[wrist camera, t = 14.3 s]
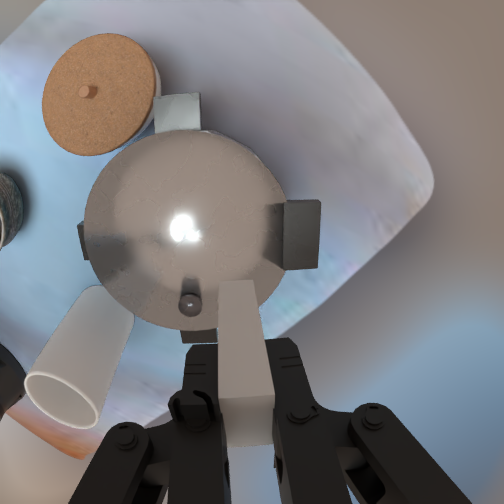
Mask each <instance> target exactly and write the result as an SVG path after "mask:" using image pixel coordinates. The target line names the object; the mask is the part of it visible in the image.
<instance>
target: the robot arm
mask: <svg viewBox="0 0 504 504" xmlns="http://www.w3.org/2000/svg"><path fill="white" fill-rule="evenodd" d="M25 378H26V374H25V372H24V371H23V369H22V367H21V366H20V364H19V363H18V362H17V361H16V359H15V358H14V357H13V356H12V355H11V354H10V353H9V352H8V351H7V350H6V349H5V348H4V347H3V346H2V345H1V344H0V421H1V419H2V417H3V415H4V413H5V412H6V411H7V410H8V409H9V408H10V407H12V406H13V405H14V404H15V403H17V402H18V401H19V400H20V399H22V398H23V397H24V395H25V393H26V390H25V386H24V381H25ZM168 407H169V410H170V413H171V416H172V418H173V419H172V420H171V421H169V422H167V423H166V424H163V425H160V426H156V427H151V428H147V429H144V428H143V427H142V426H141V425H139V424H137V423H134V422H123V423H118V424H117V425H115V426H113V427H111V429H110V430H109V431H108V432H107V433H106V435H105V437H104V439H103V441H102V442H101V444H100V446H99V448H98V449H97V451H96V453H95V455H94V457H93V459H92V460H91V462H90V464H89V466H88V468H87V470H86V471H85V473H84V475H83V477H82V479H81V480H80V482H79V484H78V486H77V488H76V490H75V492H74V494H73V495H72V498H71V499H70V501H69V503H68V504H162V502H163V499H164V497H165V494H166V491H167V489H168V502H167V504H231V490H230V477H229V476H230V474H229V461H228V456H227V447H243V446H244V447H245V446H257V445H268V444H273V443H274V450H275V455H274V456H275V457H274V468H276V472H277V478H278V484H279V490H280V497H281V502H282V504H352V501H351V498H350V495H349V491H348V488H347V485H348V487H349V488H350V490H351V491H352V493H353V494H354V496H355V497H356V499H357V500H358V502H359V503H360V504H472V503H471V502H470V500H469V499H468V498H467V497H466V496H465V495H464V494H463V493H462V491H461V490H460V489H459V488H458V487H457V486H456V484H455V483H454V482H453V481H452V480H451V479H450V478H449V477H448V476H447V474H446V473H445V472H444V471H443V470H442V468H441V467H440V466H439V465H438V464H437V463H436V461H435V460H434V459H433V458H432V457H431V456H430V455H429V454H428V452H427V451H426V450H425V449H424V448H423V447H422V446H421V444H420V443H419V442H418V441H417V440H416V439H415V437H414V436H413V435H412V434H411V433H410V432H409V431H408V429H407V428H406V427H405V426H404V425H403V424H402V423H401V421H400V420H399V419H398V418H397V417H396V416H395V415H394V413H393V412H392V411H391V410H390V409H388V408H387V407H386V406H384V405H381V404H378V403H367V404H363V405H361V406H359V407H358V408H356V409H355V411H354V412H353V413H351V412H350V413H349V412H337V411H331V410H328V409H326V408H324V407H322V406H321V405H319V404H318V403H317V402H316V401H315V399H314V397H313V395H312V392H311V388H310V385H309V382H308V379H307V375H306V373H305V369H304V366H303V363H302V360H301V358H300V353H299V350H298V347H297V345H296V344H295V343H294V342H293V341H292V340H291V339H290V338H278V339H266V340H264V335H263V329H262V324H261V319H260V314H259V309H258V303H257V298H256V293H255V288H254V282H253V279H252V280H236V281H219V299H218V344H196V345H192V347H191V348H190V349H189V351H188V352H187V354H186V360H185V368H184V377H183V386H182V390H179V391H177V392H176V393H175V394H174V395H173V396H172V397H171V398H170V400H169V403H168ZM346 484H347V485H346Z"/></svg>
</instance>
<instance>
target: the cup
mask: <svg viewBox="0 0 504 504" xmlns="http://www.w3.org/2000/svg"><path fill="white" fill-rule="evenodd" d="M133 325H134V314H133V313H131V312H130V311H128V310H127V309H125V308H124V307H123V306H122V305H121V304H119V303H118V302H117V301H116V300H115V299H114V298H113V297H112V296H111V295H110V294H109V293H108V291H107V290H106V289H105V288H104V286H101V285H96V286H91V287H88V288H86V289H85V290H84V291H83V292H82V293H81V294H80V296H79V297H78V299H77V300H76V301H75V303H74V304H73V305H72V307H71V308H70V310H69V311H68V312H67V314H66V315H65V317H64V318H63V320H62V321H61V322H60V324H59V325H58V327H57V328H56V330H55V331H54V333H53V334H52V336H51V337H50V339H49V340H48V342H47V343H46V345H45V346H44V348H43V350H42V351H41V353H40V354H39V356H38V357H37V359H36V361H35V362H34V364H33V366H32V367H31V369H30V371H29V372H28V374H27V376H26V378H25V381H24V386H25V390H26V392H27V394H28V396H29V397H30V399H31V400H32V401H33V403H34V404H35V405H36V406H37V407H38V408H39V409H40V410H41V411H42V412H44V413H45V414H46V415H48V416H49V417H51V418H52V419H54V420H56V421H58V422H60V423H62V424H64V425H67V426H70V427H73V428H78V429H89V428H92V427H94V426H95V425H96V424H97V422H98V420H99V418H100V415H101V412H102V409H103V406H104V403H105V400H106V397H107V394H108V391H109V388H110V385H111V383H112V380H113V377H114V374H115V372H116V369H117V366H118V363H119V361H120V358H121V355H122V353H123V350H124V348H125V345H126V343H127V340H128V337H129V335H130V332H131V330H132V327H133Z"/></svg>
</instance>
